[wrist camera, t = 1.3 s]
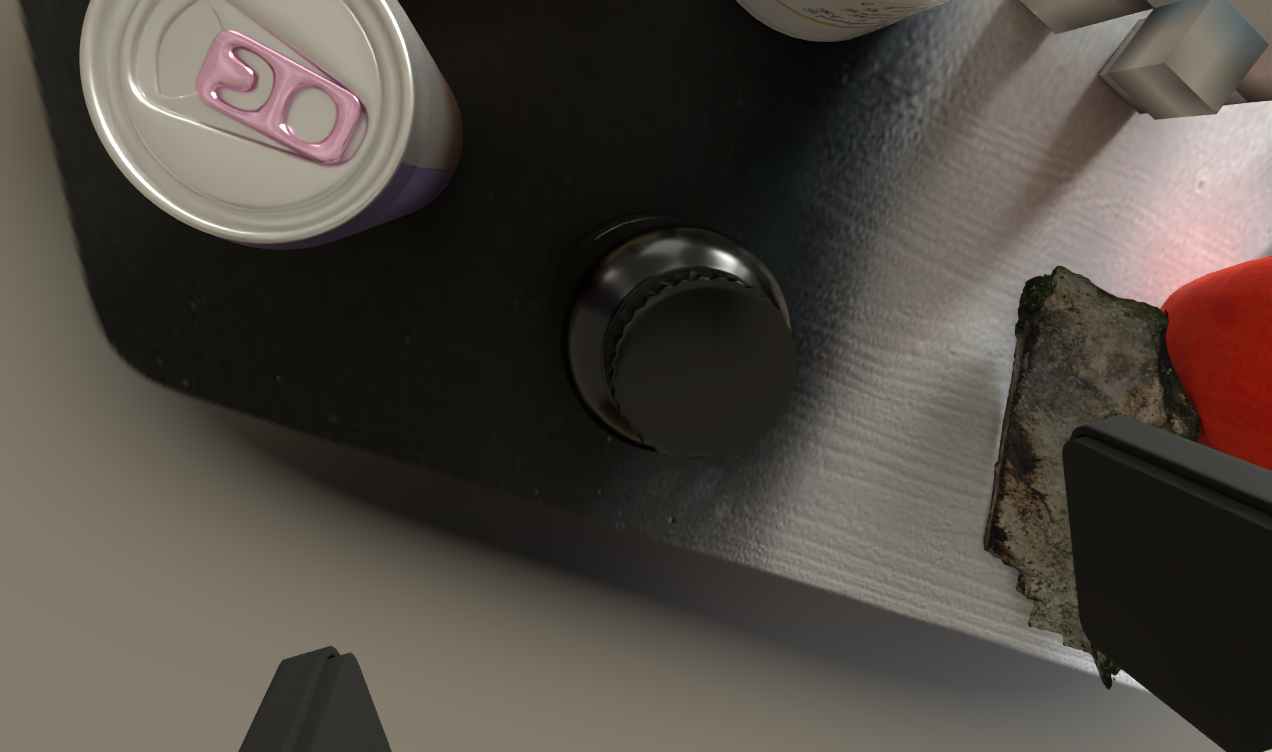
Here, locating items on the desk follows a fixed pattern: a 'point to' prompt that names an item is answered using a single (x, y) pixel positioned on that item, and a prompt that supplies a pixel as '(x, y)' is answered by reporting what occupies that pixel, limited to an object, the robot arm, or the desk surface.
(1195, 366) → the apple
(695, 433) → the supplement bottle
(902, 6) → the mug
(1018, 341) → the rock
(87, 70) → the beverage can
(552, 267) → the desk surface
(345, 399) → the desk surface
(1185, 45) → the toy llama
